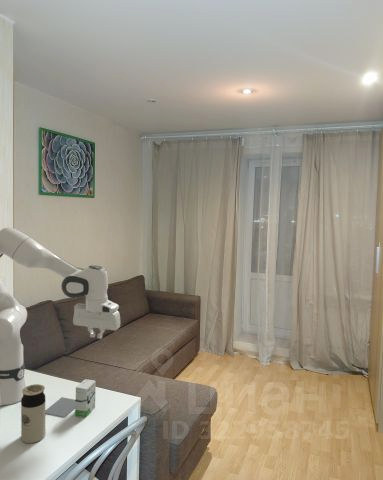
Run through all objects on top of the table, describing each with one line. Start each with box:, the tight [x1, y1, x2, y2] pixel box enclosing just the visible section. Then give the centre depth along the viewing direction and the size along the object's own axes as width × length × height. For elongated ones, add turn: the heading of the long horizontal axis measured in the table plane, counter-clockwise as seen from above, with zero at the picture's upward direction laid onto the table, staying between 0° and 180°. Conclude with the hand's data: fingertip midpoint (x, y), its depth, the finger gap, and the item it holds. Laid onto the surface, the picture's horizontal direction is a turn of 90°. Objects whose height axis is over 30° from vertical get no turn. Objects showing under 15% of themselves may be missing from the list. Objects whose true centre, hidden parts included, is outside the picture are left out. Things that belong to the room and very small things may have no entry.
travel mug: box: [20, 384, 46, 444], centre depth 135 cm, size 8×8×18 cm
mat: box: [45, 396, 76, 418], centre depth 156 cm, size 10×13×1 cm
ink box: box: [74, 378, 97, 419], centre depth 153 cm, size 9×5×12 cm, turn 168°
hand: (96, 337), depth 157 cm, fingers closed
